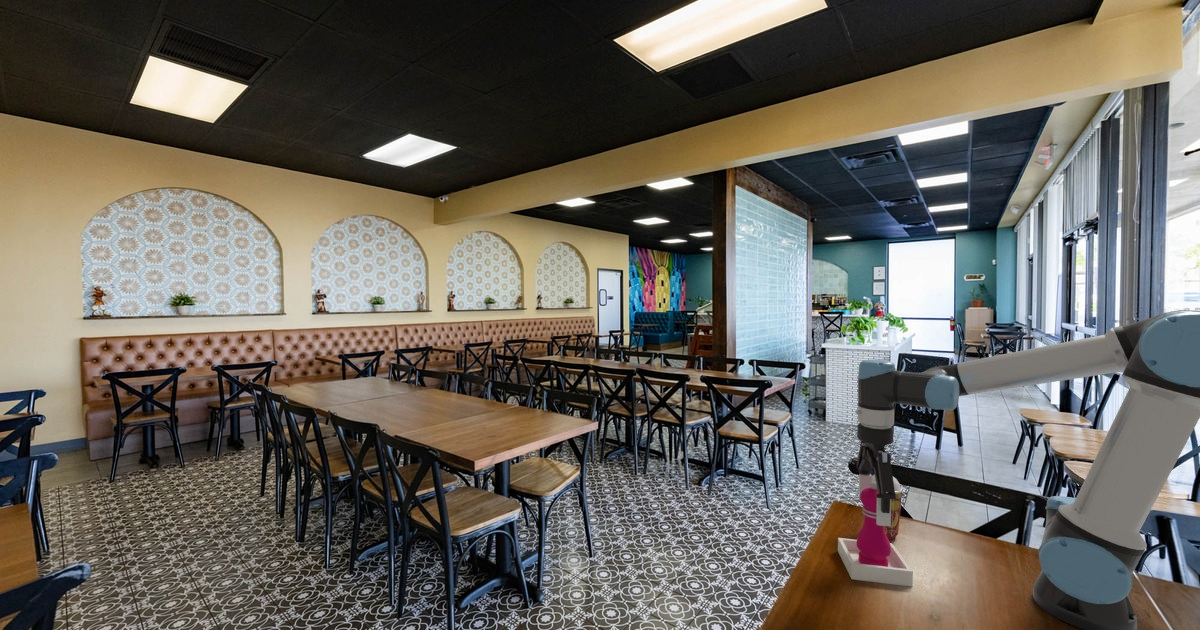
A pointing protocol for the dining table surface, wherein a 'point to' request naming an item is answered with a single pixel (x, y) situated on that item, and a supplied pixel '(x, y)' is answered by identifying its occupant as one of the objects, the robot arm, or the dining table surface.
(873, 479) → the smoothie
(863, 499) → the pepper mill
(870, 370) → the robot arm
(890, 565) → the tray
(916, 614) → the dining table surface
